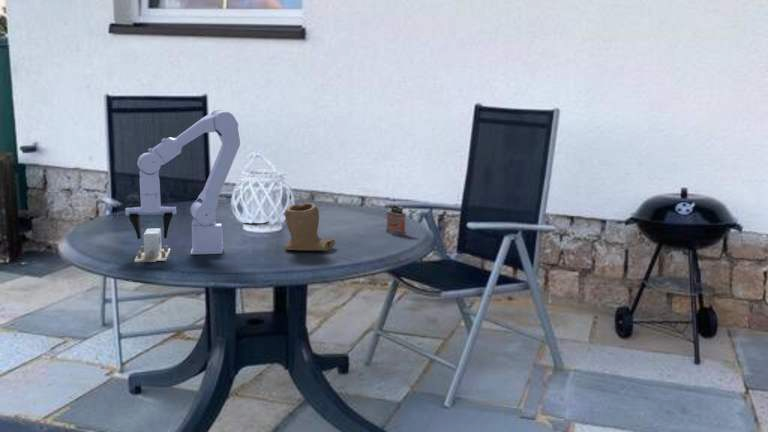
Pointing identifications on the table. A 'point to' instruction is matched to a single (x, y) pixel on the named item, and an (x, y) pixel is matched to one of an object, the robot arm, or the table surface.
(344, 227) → the table surface
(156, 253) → the block
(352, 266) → the table surface
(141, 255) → the birch pin tray
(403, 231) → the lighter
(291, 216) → the brown hollow piece
